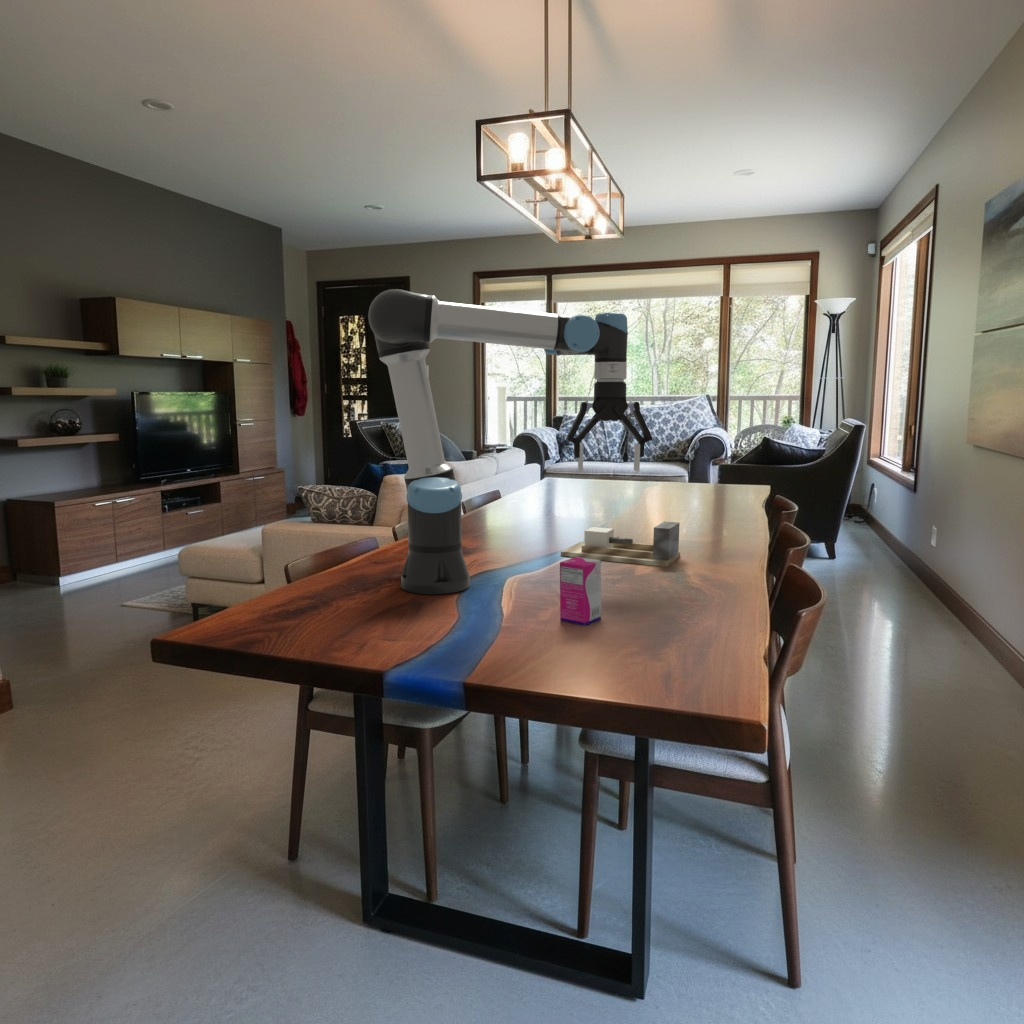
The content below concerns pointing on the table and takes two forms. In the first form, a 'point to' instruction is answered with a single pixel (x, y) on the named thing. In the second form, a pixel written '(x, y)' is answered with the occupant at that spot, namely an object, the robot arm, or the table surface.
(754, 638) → the table surface
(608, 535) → the white block with rods
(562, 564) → the supplement box
